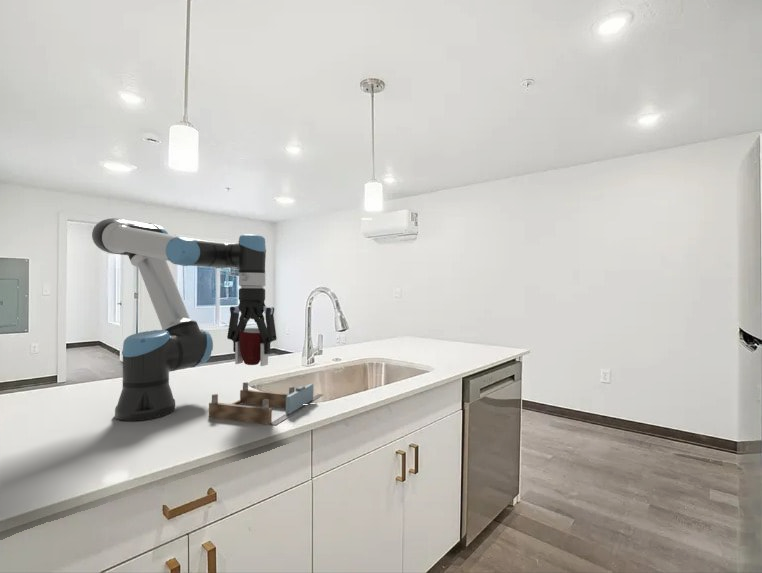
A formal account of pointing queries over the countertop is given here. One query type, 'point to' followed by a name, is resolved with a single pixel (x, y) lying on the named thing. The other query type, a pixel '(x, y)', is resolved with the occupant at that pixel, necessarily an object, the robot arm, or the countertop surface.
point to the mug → (250, 346)
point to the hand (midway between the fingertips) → (251, 364)
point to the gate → (299, 398)
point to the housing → (250, 412)
